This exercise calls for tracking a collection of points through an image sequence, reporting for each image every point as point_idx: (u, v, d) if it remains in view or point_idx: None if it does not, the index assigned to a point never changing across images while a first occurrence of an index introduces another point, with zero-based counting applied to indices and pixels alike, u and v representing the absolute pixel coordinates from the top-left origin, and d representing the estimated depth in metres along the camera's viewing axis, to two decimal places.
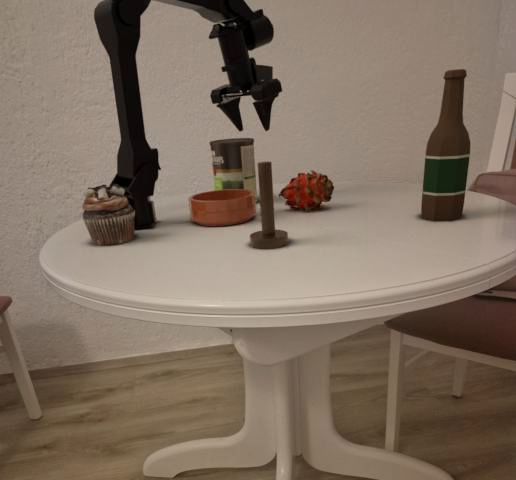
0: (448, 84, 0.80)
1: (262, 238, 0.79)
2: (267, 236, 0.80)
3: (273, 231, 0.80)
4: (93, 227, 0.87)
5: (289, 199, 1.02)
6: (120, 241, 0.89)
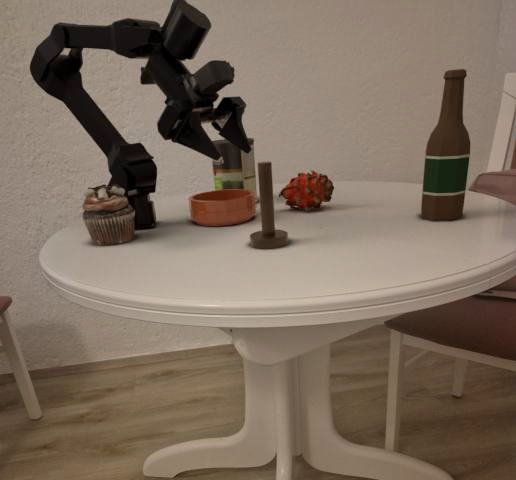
0: (448, 84, 0.80)
1: (262, 238, 0.79)
2: (267, 236, 0.80)
3: (273, 231, 0.80)
4: (93, 227, 0.87)
5: (289, 199, 1.02)
6: (120, 241, 0.89)
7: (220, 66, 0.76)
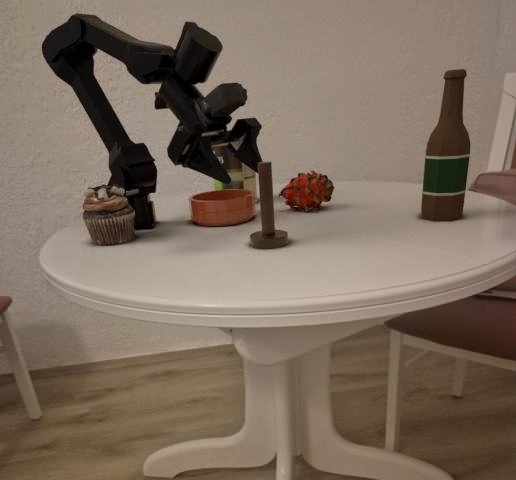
0: (448, 84, 0.80)
1: (262, 238, 0.79)
2: (267, 236, 0.80)
3: (273, 231, 0.80)
4: (93, 227, 0.87)
5: (289, 199, 1.02)
6: (120, 241, 0.89)
7: (231, 89, 0.74)
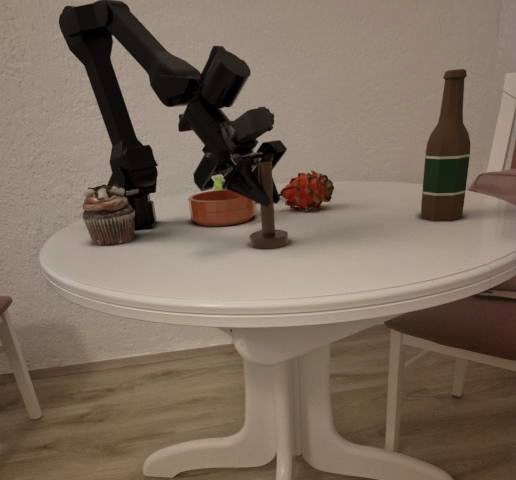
0: (448, 84, 0.80)
1: (262, 238, 0.79)
2: (267, 236, 0.80)
3: (273, 231, 0.80)
4: (93, 227, 0.87)
5: (289, 199, 1.02)
6: (120, 241, 0.89)
7: (259, 114, 0.72)
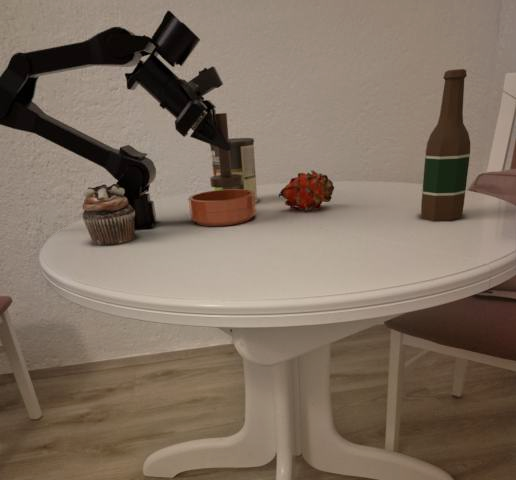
0: (448, 84, 0.80)
1: (228, 178, 0.94)
2: (229, 177, 0.95)
3: None
4: (93, 227, 0.87)
5: (289, 199, 1.02)
6: (120, 241, 0.89)
7: (216, 71, 0.87)
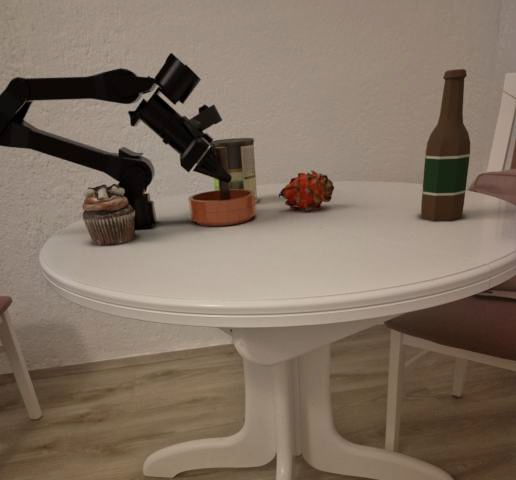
0: (448, 84, 0.80)
1: None
2: None
3: None
4: (93, 227, 0.87)
5: (289, 199, 1.02)
6: (120, 241, 0.89)
7: (216, 109, 0.92)
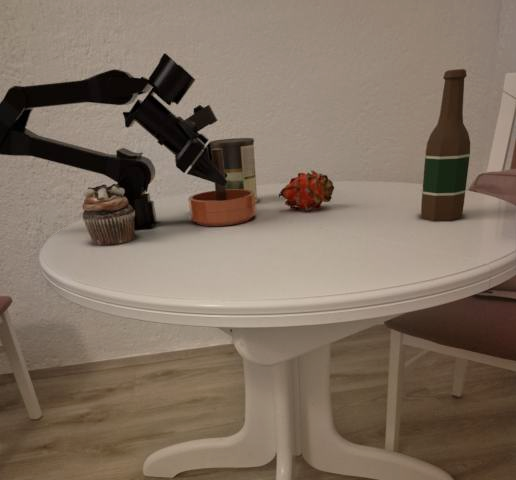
0: (448, 84, 0.80)
1: None
2: None
3: None
4: (93, 227, 0.87)
5: (289, 199, 1.02)
6: (120, 241, 0.89)
7: (211, 109, 0.91)
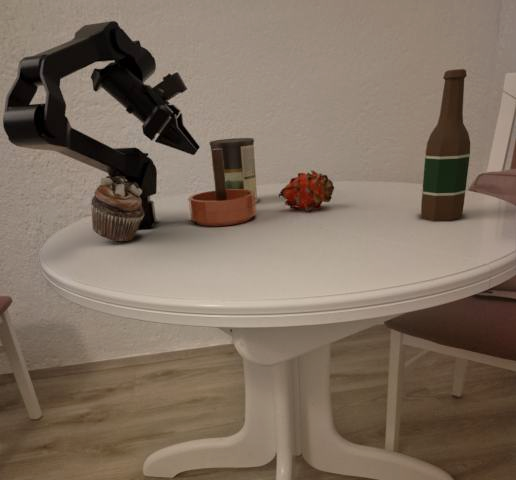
0: (448, 84, 0.80)
1: None
2: None
3: None
4: (99, 218, 0.86)
5: (289, 199, 1.02)
6: (121, 239, 0.89)
7: (180, 77, 0.90)
